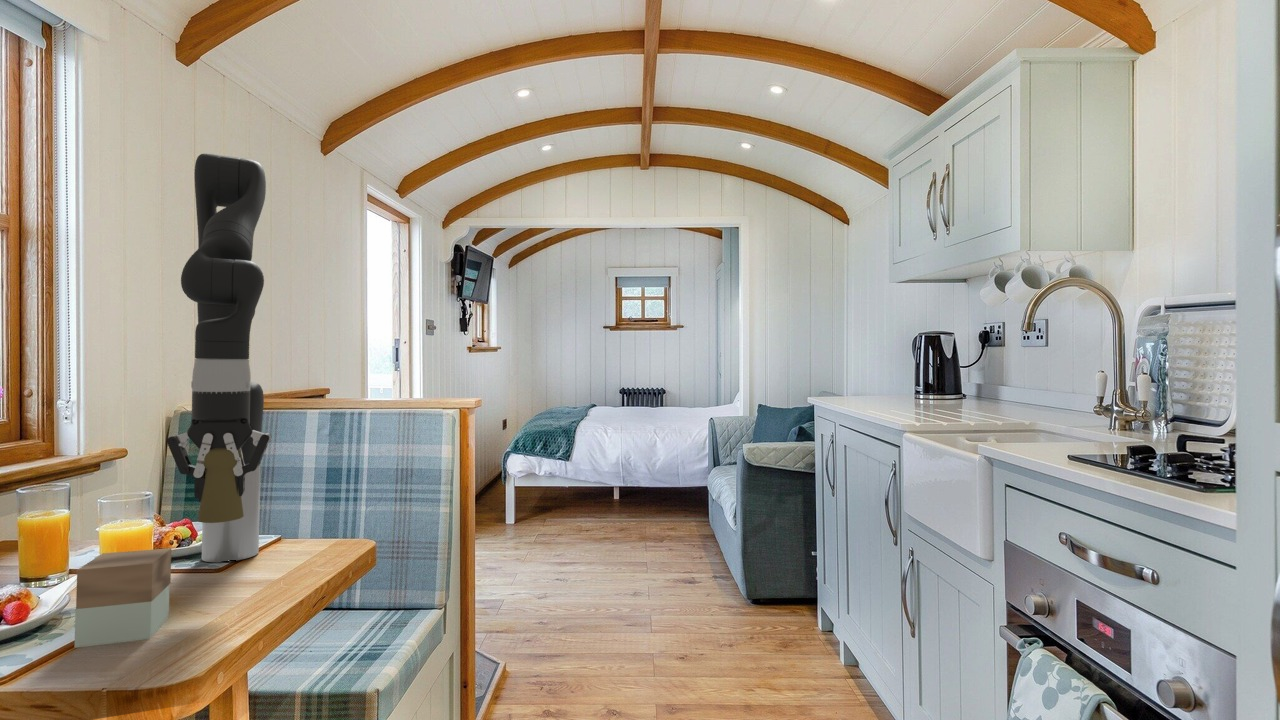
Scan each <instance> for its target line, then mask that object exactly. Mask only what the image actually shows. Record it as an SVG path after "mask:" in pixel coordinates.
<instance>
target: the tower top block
mask: <svg viewBox="0 0 1280 720" xmlns="http://www.w3.org/2000/svg"><path fill="white" fill-rule="evenodd" d="M171 573H172V548H171V547H170V548H157V549H156V548H155V549H145V550H143V549H142V550H131V551H118V552H104V553H102V554H100V555H98V556H97V557H95V558H93V559H91V560H90V561H89V562H87V563H86V564H84V565H82V566H81V567H79V568H77V570H76V593H75V594H76V596H75V597H76V598H75V600H76V601H75V603H76V605H75V609H82V608H92V607H102V606H112V605H122V604H132V603H142V602H152V601H153V600H154V599H155V598H156V597H157V596H158V595H159V594H160V593H161V592H162V591H163V590H164V589H165V588H166V587H167V586H168V585H169V584H171V577H172V575H171Z"/></svg>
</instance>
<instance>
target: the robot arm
mask: <svg viewBox="0 0 1280 720" xmlns="http://www.w3.org/2000/svg"><path fill="white" fill-rule="evenodd" d="M194 164H195V165H194V172H193V173H194V194H195V206H196V208H195V209H196V220H197V238H198V240H197V241H198V246H197V247H198V248H197V249H196V251H194V252H193V254H191V256H190V257H189V258H188V260H187V261H186V263H185V264H184V266H183V268H182V270H181V276H180V286H181V289H182V292H183V293H184V294H185V295H186V297H187V298H189V299H190V300H191V301H193V302H195V303H196V304H197V324H196V326H195V331H194V332H195V333H194V334H195V335H194V341H195V342H194V362H193V363H194V364H193V368H192V376H191V377H192V381H191V382H190V383H191V422H190V423H191V424H190V425H189V427H188V428H187V431H186V432H183V433H181V434H174V435H171V436H169V437H167V438H166V443H167V446H168V449H169V450H170V453H171V455H172V457H173V460H174V462H175V465H176V467H177V469H178V471H179V473H180V474H181V475H188V476H191V477H193V478H194V479H193V480H194V489H193V490H194V494H193V496H194V498H195V499H196V500H198V501H199V503H200V502H201V500H202V494H203V489H204V484H205V473H206V468H205V466H204V464H203V463H204V458H205V456H206V454H207V453H208V452H209V451H210V449H214V448H227V450H230V451H231V452H232V453H234V456H235V460H236V461H237V465H236V466H235V467H234V468H233V471H234V474H235V475H236V477H235V482H236V489H237V494H238V489H239V496H241V499H242V506H243V514H244V517H242V518H240V519H237V520H233V521H227V522H219V523H202V522H201V523H202V526H201V533H202V536H201V561H204V562H207V563H222V562H221V561H228V560H236V561H241V560H246V559H248V558H249V559H250V558H252V557H254V556H256V555H258V554H259V550H260V549H259V548H260V547H259V545H260V544H259V543H260V507H261V506H260V502H261V501H260V500H261V464H262V463H261V461H262V459H263V457H264V455H265V453H266V450H267V448H268V445H269V443H270V441H271V439H272V435H271V434H272V433H270V432H265V433H264V432H262V430H263V429H262V428H263V418H264V417H263V415H264V403H265V402H264V401H265V399H264V391H263V388H262V386H261V384H260V383H257V382H252V381H251V367H250V360H249V359H250V340H251V339H250V338H251V337H250V336H251V335H250V333H251V328H252V323H253V319H254V318H255V314H256V308H257V306H258V303H259V301H260V298H261V295H262V293H263V289H264V285H265V277H264V273H263V271H262V269H261V267H260V266H259V265H258V264H257V263H255V262H253V261H252V259H253V249H254V248H253V246H254V235H255V231H256V228H257V224H258V222H259V219H260V216H261V214H262V211H263V207H264V205H265V201H266V191H267V189H266V188H267V182H266V181H267V180H266V174H265V170H264V167H263V166H262V165H261V163H260V162H258V161H255V160H252V159H250V158H243V157H235V156H228V155H227V156H226V155H221V154H213V153H201V154H199V155H198V156H197V157H196V160H195V163H194ZM218 207H221V208H222V209H221V210H219V211H218V210H217V208H218ZM189 439H190V440H191V442H192V443H193V444H194V445H195V446H196V447H197V448H198V449H199V452H198V455H197V457H196V465H193V463H192V461H191V459H190V457H189V454H188V451H187V450H186V447H187V446H188V444H189V442H188V441H189ZM237 450H240V451H241V454H242V460H241V458H240V456H239V454H238V451H237ZM203 454H204V455H203Z"/></svg>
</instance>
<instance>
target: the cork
mask: <svg viewBox="0 0 1280 720" xmlns="http://www.w3.org/2000/svg"><path fill="white" fill-rule="evenodd" d="M237 451H238V454H239V456H240V458H241V460H242V454H241V451H240V450H237ZM203 455H204V454H203ZM203 464H204V466H205V468H206V473H205V484H204V489H203V494H202V500H201V502H199V503H200V504H199V508H198V514H197V518H196V519H197V522H199V523H219V522H227V521H233V520H237V519H240V518H242V517H244V514H243V506H242V499H241V496H239V489H238V494H237V489H236V482H235V477H236V475H235V474H234V471H233V468H234V467H235V466H236V465H237V461H236V460H235V456H234V453H232V452H231V451H230V450H227V448H214V449H210V451H209V452H208V453H207V454H206V456H205V458H204V463H203Z"/></svg>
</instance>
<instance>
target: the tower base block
mask: <svg viewBox="0 0 1280 720" xmlns="http://www.w3.org/2000/svg"><path fill="white" fill-rule="evenodd" d="M170 584H171V583H170ZM170 584H169V585H168V586H167V587H166V588H165V589H164V590H163V591H162V592H161V593H160V594H159V595H158V596H157V597H156V598H155V599H154V600H153V601H152V602H142V603H132V604H122V605H112V606H102V607H92V608H82V609H76V608H75V611H74V614H75V616H74V619H75V620H74V644H73V645H74V647H73V648H74V649H75V648H84V647H92V646H93V647H94V646H99V645H100V646H101V645H110V644H118V643H126V642H135V641H142V640H151V639H152V637H153V636H154V635H155V634H156V633H157V631H158V630H160V628H161V627H162V626H163V625H164V624H165V622H166V621H167V620H168V619H169V618H170V616H169V615H170Z"/></svg>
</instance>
